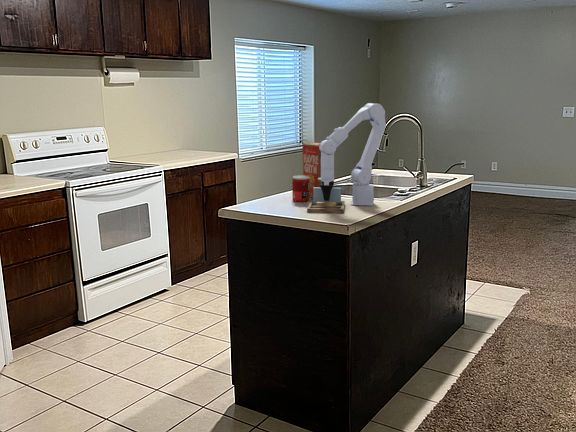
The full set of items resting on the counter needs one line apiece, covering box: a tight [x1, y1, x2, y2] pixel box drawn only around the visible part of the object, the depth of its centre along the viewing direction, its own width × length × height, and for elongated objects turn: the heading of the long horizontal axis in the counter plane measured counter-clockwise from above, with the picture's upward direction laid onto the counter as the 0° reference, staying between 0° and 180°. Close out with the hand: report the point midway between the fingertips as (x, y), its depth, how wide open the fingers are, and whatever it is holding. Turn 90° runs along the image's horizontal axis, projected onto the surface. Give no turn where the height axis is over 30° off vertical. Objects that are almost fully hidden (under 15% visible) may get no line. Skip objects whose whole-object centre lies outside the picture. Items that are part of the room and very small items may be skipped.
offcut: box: [317, 201, 336, 206], centre depth 243 cm, size 8×3×3 cm, turn 78°
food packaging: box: [302, 142, 335, 198], centre depth 270 cm, size 13×9×25 cm
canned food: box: [291, 174, 310, 203], centre depth 261 cm, size 8×8×11 cm
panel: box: [312, 187, 342, 203], centre depth 249 cm, size 12×2×8 cm, turn 83°
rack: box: [306, 200, 345, 214], centre depth 244 cm, size 15×18×2 cm
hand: (327, 199), depth 249 cm, fingers open, 7 cm apart
